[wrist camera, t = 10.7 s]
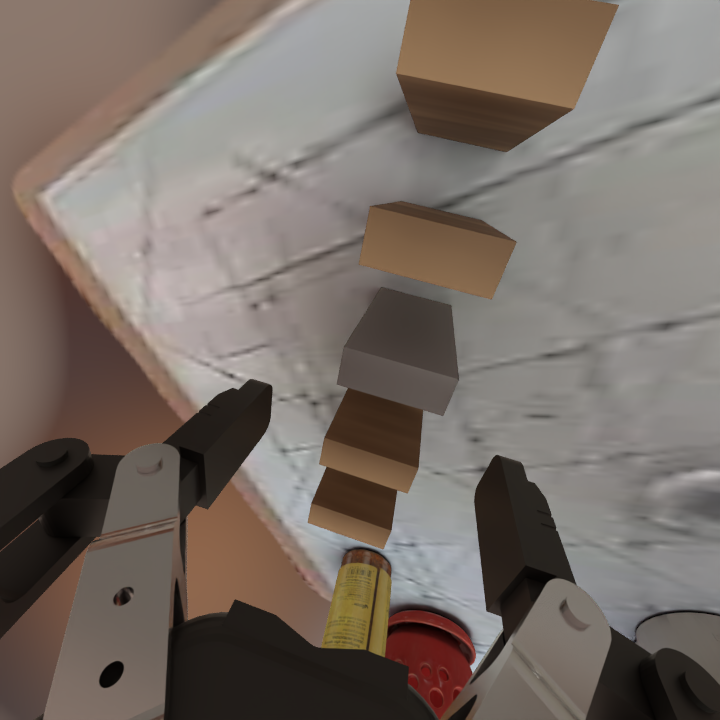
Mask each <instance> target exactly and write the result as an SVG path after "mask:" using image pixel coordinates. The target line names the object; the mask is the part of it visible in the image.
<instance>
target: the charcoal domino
mask: <svg viewBox="0 0 720 720" xmlns="http://www.w3.org/2000/svg"><path fill="white" fill-rule="evenodd" d="M458 380H459V376H458V366H457V356H456V346H455V337H454V327H453V317H452V308H451V305H448V304H444V303H440V302H436V301H432V300H428V299H425V298H421V297H417V296H413V295H409V294H405V293H402V292H398V291H394V290H390V289H386V288H382V287H381V289H380V290H379V292H378V293H377V295H376V297H375V298H374V300H373V301H372V303H371V305H370V306H369V308H368V309H367V311H366V313H365V314H364V316H363V317H362V319H361V321H360V322H359V324H358V325H357V327H356V328H355V330H354V332H353V333H352V335H351V336H350V338H349V340H348V341H347V343H346V344H345V346H344V349H343V355H342V360H341V365H340V370H339V376H338V381H337V385H341V386H344V387H347V388H351V389H354V390H358V391H361V392H364V393H368V394H371V395H374V396H378V397H381V398H384V399H388V400H391V401H395V402H398V403H401V404H405V405H408V406H411V407H415V408H418V409H422V410H425V411H428V412H432V413H435V414H438V415H442V416H443V415H444V413H445V411H446V408H447V406H448V404H449V401H450V399H451V397H452V394H453V392H454V390H455V387H456V385H457V383H458Z"/></svg>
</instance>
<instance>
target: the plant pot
mask: <svg viewBox="0 0 720 720" xmlns="http://www.w3.org/2000/svg"><path fill="white" fill-rule="evenodd" d="M385 658H388V659H390V660H393V661H395V662H398V663H401V664H403V665H406V666H408V667H409V674H408V684H409V685H411V686H412V687H413V688H414V689H415V690H416V691H417V692H418V693H419V694H420V695H421V696H422V697H423V698H424V699H425V701H426V702H427V703H428V704H429V706H430V707H431V708H432V709H433V711H434V712H435V714H436V715H437V717H438V718H439V720H440V719H441V717H442V716H443V714H444V713H445V712H446V710H447V709H448V707H449V706H450V705H451V703H452V702H453V701H454V700H455V699H456V697H457V696H458V695H459V693H460V692H461V691H462V689H463V688H464V686H465V685H466V683H467V682H468V680H469V679H470V677H471V676H472V671H471V668H470V665H472V664H473V663H474V661H475V658H476V653H475V648H474V646H473V644H472V642H471V640H470V638H469V637H468V635H467V634H466V633H465V632H464V631H463V630H462V629H461V628H460V627H459V626H458V625H457V624H455V623H454V622H452V621H450V620H449V619H447V618H445V617H442V616H440V615H437V614H434V613H431V612H427V611H419V610H408V611H402V612H399V613H396V614H394V615H393V616H391V617H390V618H389V619H388V629H387V639H386V650H385Z"/></svg>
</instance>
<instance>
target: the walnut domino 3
mask: <svg viewBox="0 0 720 720" xmlns="http://www.w3.org/2000/svg"><path fill="white" fill-rule="evenodd" d="M618 6H619V5H616V4H610V3H604V2H598V1H592V0H410V5H409V10H408V15H407V20H406V26H405V31H404V36H403V41H402V46H401V51H400V56H399V61H398V66H397V71H396V74H397V77H398V80H399V83H400V85H401V88H402V91H403V94H404V96H405V99H406V102H407V105H408V107H409V110H410V113H411V115H412V118H413V121H414V124H415V126H416V129H417V132H418V133H421V134H426V135H430V136H435V137H440V138H444V139H449V140H453V141H458V142H463V143H467V144H472V145H476V146H481V147H486V148H490V149H495V150H499V151H504V152H508V151H509V150H511V149H512V148H514V147H515V146H517V145H519V144H520V143H522V142H523V141H525V140H526V139H528V138H529V137H531V136H533V135H534V134H536V133H537V132H539V131H540V130H542V129H543V128H545V127H547V126H548V125H550V124H551V123H553V122H554V121H556V120H557V119H559V118H561V117H562V116H564V115H565V114H567V113H568V112H570V111H571V110H573V109H574V108H575V105H576V103H577V101H578V99H579V96H580V94H581V92H582V89H583V87H584V85H585V82H586V80H587V78H588V75H589V73H590V71H591V69H592V66H593V64H594V62H595V59H596V57H597V55H598V52H599V50H600V48H601V45H602V43H603V41H604V39H605V36H606V34H607V32H608V29H609V27H610V25H611V22H612V20H613V18H614V15H615V13H616V11H617V9H618Z"/></svg>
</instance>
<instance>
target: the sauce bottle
mask: <svg viewBox="0 0 720 720" xmlns="http://www.w3.org/2000/svg"><path fill="white" fill-rule="evenodd" d="M390 595H391V566H390V564H389V563H388V562H387V561H386V560H385V559H384V558H383V557H382V556H380V555H379V554H377V553H375V552H373V551H369V550H365V549H358V550H352V551H349V552H348V553H347V554H345V556H344V557H343V560H342V565H341V568H340V569H339V572H338V576H337V580H336V585H335V589H334V593H333V598H332V602H331V608H330V611H329V616H328V620H327V624H326V628H325V633H324V637H323V642H322V646H321V648H339V649H365V650H367V651H370V652H372V653H375V654H377V655H380V656H383V657H385V650H386V639H387V629H388V617H389V606H390Z"/></svg>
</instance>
